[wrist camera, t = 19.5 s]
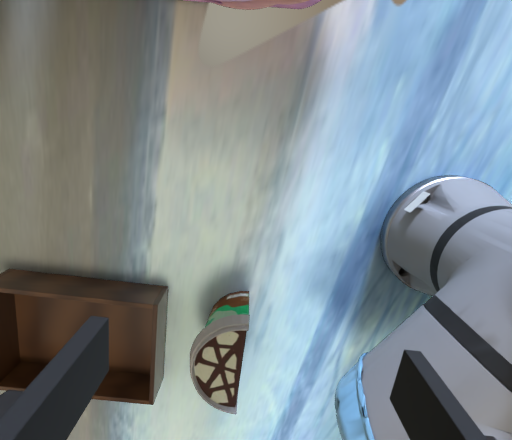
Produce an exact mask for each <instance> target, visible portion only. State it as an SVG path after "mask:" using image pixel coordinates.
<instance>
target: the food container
mask: <svg viewBox="0 0 512 440" xmlns="http://www.w3.org/2000/svg"><path fill="white" fill-rule="evenodd" d="M248 330H249V291H238V292H234V293H230V294H228V295H226V296H224V297H222V298H220V299H219V301H218V302H217V303H216V304H215V305H214V306H213V308H212V311H211V313H210V315H209V318H208V321H207V323H206V326H205V328H204V329H203V330H202V331H201V332H200V333H199V334H198V335H197V337H196V339H195V340H194V342H193V345H192V347H191V352H190V373H191V378H192V381H193V384H194V386H195V389H196V390H197V392H198V393H199V395H200V396H201V397H202V398H203V399H204V400H205V401H206V402H207V403H208V404H210V405H211V406H213V407H214V408H216V409H219V410H221V411H224V412H227V413H231V414H236V411H237V398H238V387H239V380H240V373H241V366H242V361H243V360H242V359H243V352H244V346H245V339H246V331H248Z"/></svg>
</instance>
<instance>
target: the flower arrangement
mask: <svg viewBox="0 0 512 440" xmlns="http://www.w3.org/2000/svg"><path fill="white" fill-rule="evenodd" d="M185 1H198V2H211V3H215V4H218V5H221V6H225V7H229V8H235V9H247V10H251V9H260V8H266V7H278V8H291V9H302V8H306V7H310V6H312V5H314V4H316V3H318V2H319V1H321V0H185Z"/></svg>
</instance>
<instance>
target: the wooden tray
mask: <svg viewBox="0 0 512 440" xmlns="http://www.w3.org/2000/svg"><path fill="white" fill-rule="evenodd" d="M167 302H168V286H159V285H150V284H141V283H132V282H123V281H114V280H105V279H96V278H87V277H78V276H70V275H61V274H52V273H43V272H34V271H25V270H16V269H8V270H6V271H5V272H3V273H1V274H0V390H18V391H24V390H25V389H26V388H27V387H28V386H29V385H30V384H31V382H32V381H33V380H34V379H35V378H36V377H37V376H38V375H39V373H40V372H41V371H42V370H43V369H44V368H45V367H46V366H47V364H48V363H49V362H50V361H51V360H52V359H53V358H54V357H55V356H56V354H57V353H58V352H59V351H60V350H61V349H62V348H63V347H64V345H65V344H66V343H67V342H68V341H69V340H70V339H71V338H72V336H73V335H74V334H75V333H76V332H77V331H78V330H79V329H80V328H81V326H82V325H83V324H84V323H85V322H86V321H87V320H88V319H89V317H90V316H98V317H107V318H109V371H108V373H107V374H106V376H105V377H104V379H103V381H102V382H101V384H100V386H99V387H98V389H97V391H96V392H95V394H94V395H93V397H92V399H98V400H108V401H119V402H129V403H139V404H150V405H153V404H154V401H155V399H156V396H157V393H158V391H159V388H160V385H161V383H162V380H163V374H164V356H165V338H166V320H167Z"/></svg>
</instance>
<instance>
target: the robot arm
mask: <svg viewBox="0 0 512 440" xmlns="http://www.w3.org/2000/svg"><path fill="white" fill-rule="evenodd" d="M381 250H382V254H383V257H384V260H385V262H386V264H387V265H388V267H389V268H390V270H391V271H392V272H393V273H394V274H395V275H396V276H397V277H398V278H399V279H400V280H401V281H402V282H403V283H404V284H406V285H407V286H409V287H410V288H412V289H414V290H417V291H420V292H423V293H426V294H429V295H432V296H433V297H432V298H430V299H429V300H428V301H427V302H426V303H425V304H423V305H422V306H421V307H420V308H418V309H417V310H416V311H415V312H414V313H413V314H412V315H411V316H409V317H408V318H407V319H406V320H405V321H404V322H403V323H402V324H400V325H399V326H398V327H397V328H396V329H395V330H394V331H393V332H391V333H390V334H389V335H388V336H387V337H386V338H385V339H384V340H382V341H381V342H380V343H379V344H378V345H377V346H376V347H375V348H373V349H372V350H371V351H370V352H367V353H364V354H362V355H361V357H360V358H359V360H358V362H357V363H356V364H355V365H354V366H353V367H352V368H351V369H350V370H349V371H348V372H347V373H346V374H345V375H344V376H343V377H342V379H341V380H340V382H339V383H338V386H337V389H336V393H335V408H336V413H337V415H336V416H337V422H338V427H339V430H340V434H341V437H342V440H512V204H511V203H509V202H508V201H507V200H506V199H505V198H504V197H502V196H501V195H500V194H499V193H498V192H497V191H496V190H495V189H493V188H492V187H491V186H489V185H487V184H486V183H483V182H481V181H479V180H475V179H471V178H467V177H462V176H454V175H445V176H438V177H433V178H430V179H427V180H425V181H422V182H420V183H418V184H416V185H414V186H413V187H411V188H410V189H408V190H407V191H406V192H405V193H403V194H402V195H401V196H400V197H399V198H398V199H397V200H396V202H395V203H394V204H393V206H392V207H391V209H390V210H389V212H388V214H387V216H386V218H385V220H384V223H383V226H382V231H381ZM108 371H109V318H107V317H98V316H90V317H89V319H88V320H87V321H86V322H85V323H84V324H83V325H82V326H81V328H80V329H79V330H78V331H77V332H76V333H75V334H74V335H73V336H72V338H71V339H70V340H69V341H68V342H67V343H66V344H65V345H64V347H63V348H62V349H61V350H60V351H59V352H58V353H57V354H56V356H55V357H54V358H53V359H52V360H51V361H50V362H49V363H48V364H47V366H46V367H45V368H44V369H43V370H42V371H41V372H40V373H39V375H38V376H37V377H36V378H35V379H34V380H33V381H32V382H31V384H30V385H29V386H28V387H27V388H26V389H25V390H24V391H18V390H7V391H6V392H4V393H3V394H1V395H0V440H66V439H67V438H68V436H69V435H70V433H71V431H72V430H73V428H74V426H75V425H76V423H77V421H78V420H79V418H80V417H81V415H82V413H83V412H84V410H85V408H86V407H87V405H88V404H89V402H90V400H91V399H92V397H93V395H94V394H95V392H96V391H97V389H98V387H99V386H100V384H101V382H102V381H103V379H104V377H105V376H106V374H107V373H108Z"/></svg>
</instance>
